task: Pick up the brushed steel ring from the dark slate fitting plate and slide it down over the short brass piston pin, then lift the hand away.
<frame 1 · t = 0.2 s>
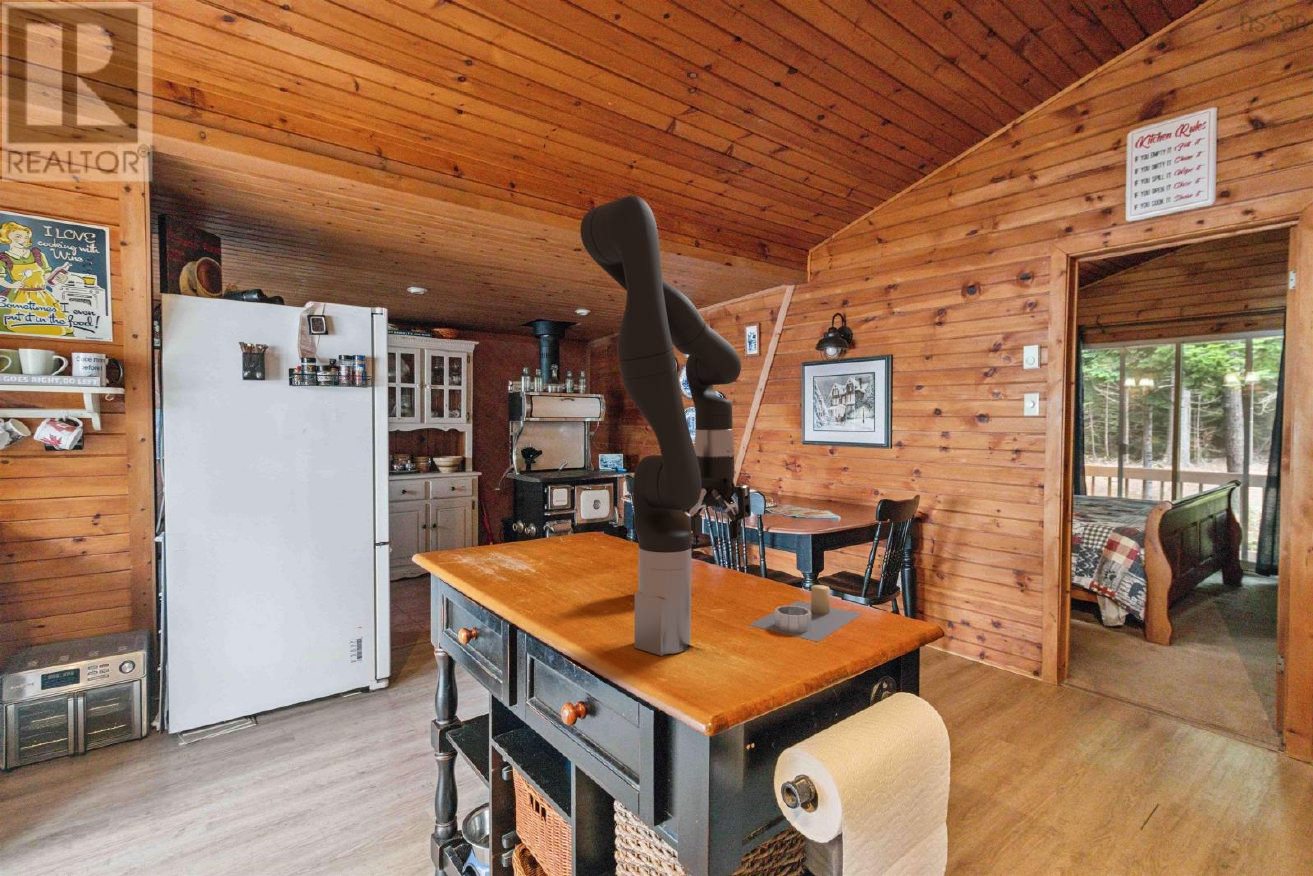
hand: (715, 537, 116), 17 cm above the table, fingers open, 8 cm apart
olive oil: (667, 594, 139), on the table
fitting plate: (806, 624, 118), on the table
steel ring: (792, 626, 113), point 1 cm above the table, touching fitting plate
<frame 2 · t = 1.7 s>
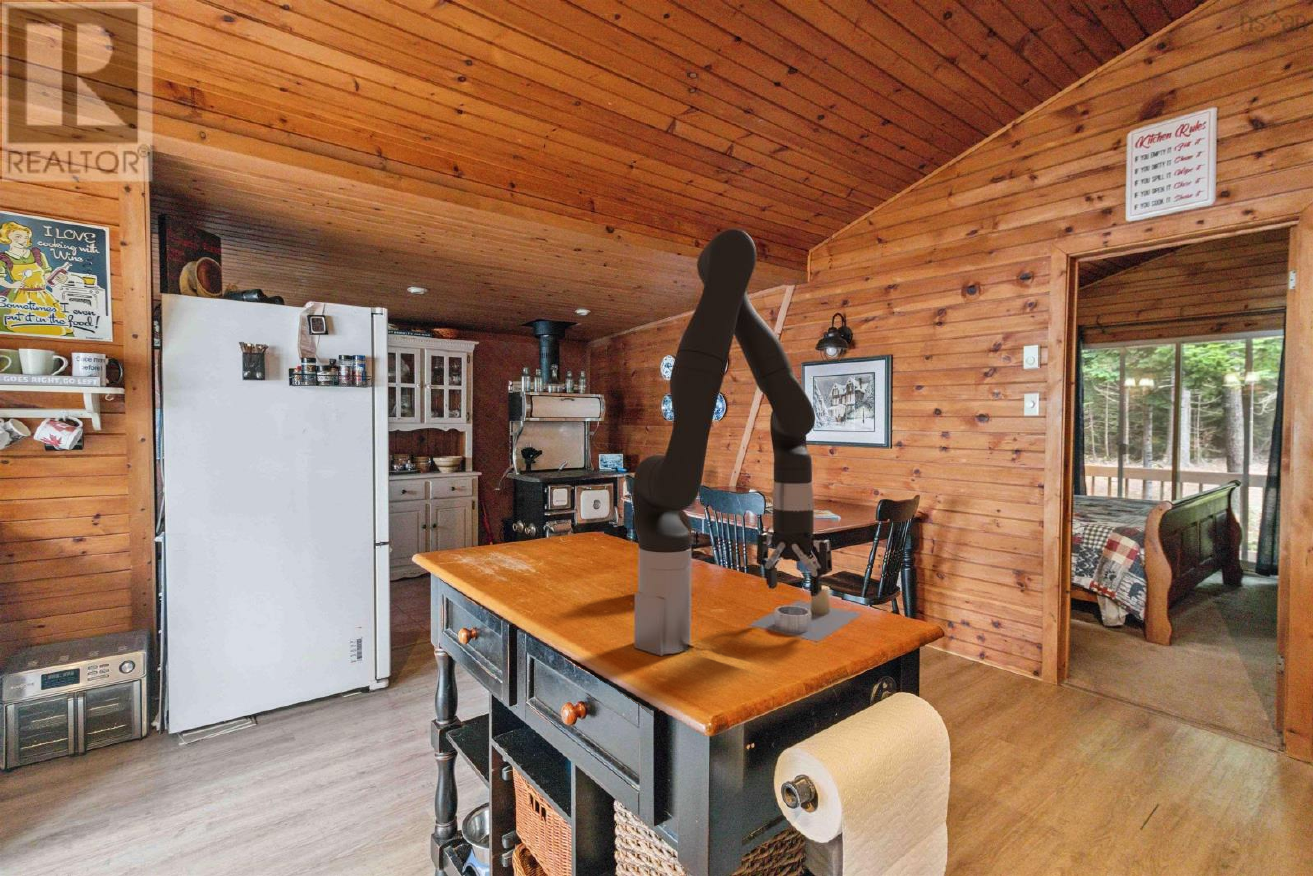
hand: (793, 591, 114), 7 cm above the table, fingers open, 8 cm apart
nothing on the table moved.
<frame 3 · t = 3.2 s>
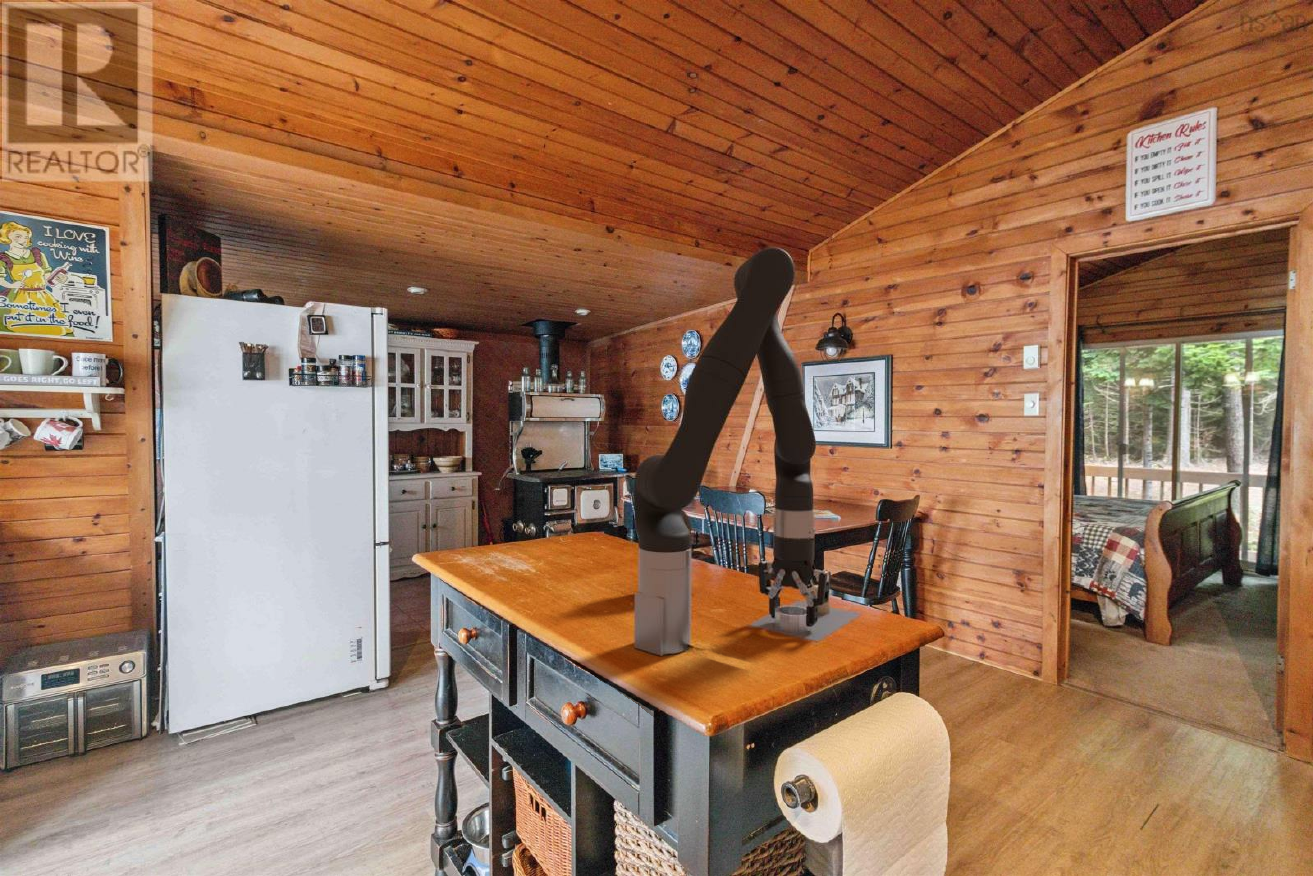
hand: (792, 621, 113), 2 cm above the table, fingers closed on steel ring, 6 cm apart
steel ring: (792, 626, 113), point 1 cm above the table, touching fitting plate, gripper
everything else where it was.
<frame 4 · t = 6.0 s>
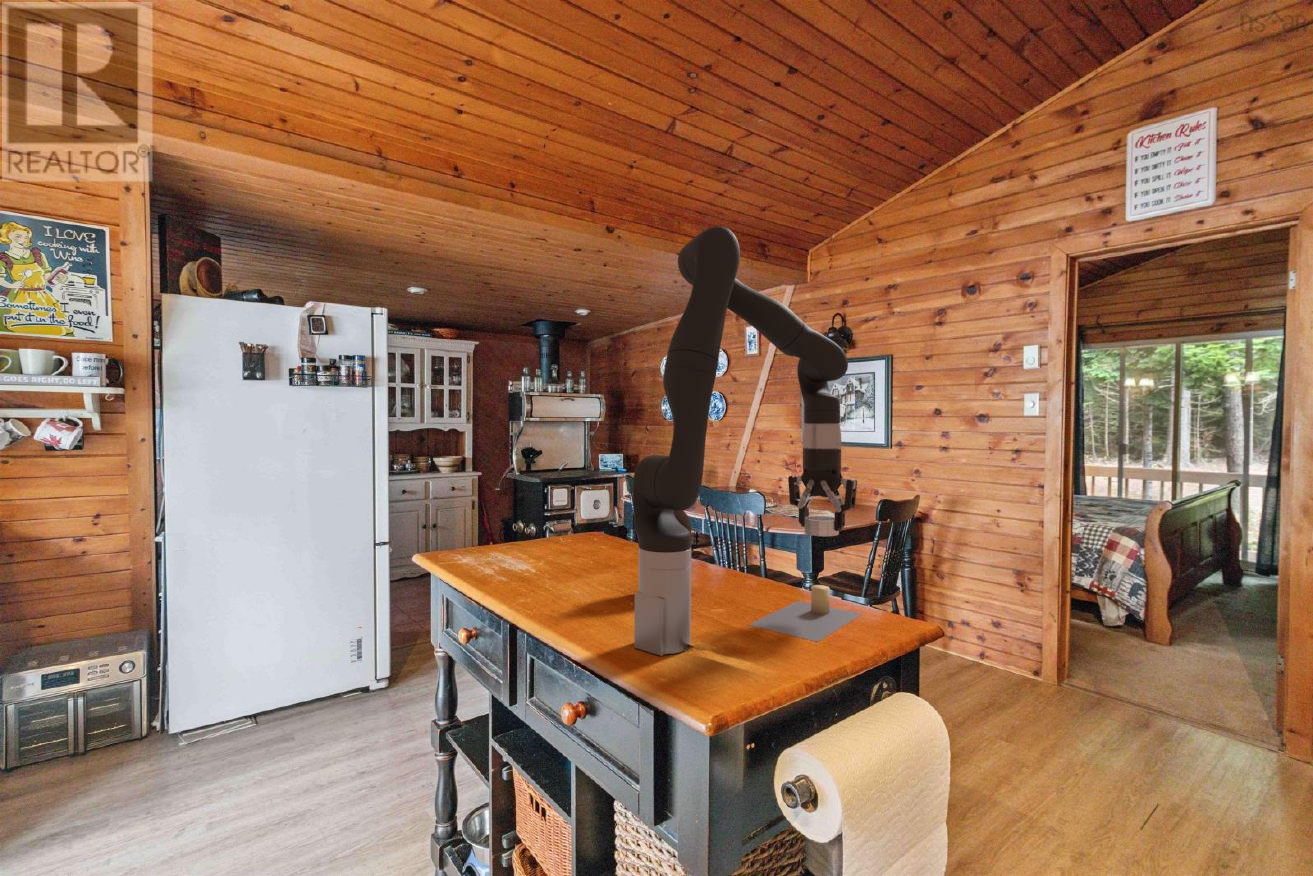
hand: (821, 528, 122), 18 cm above the table, fingers closed on steel ring, 6 cm apart
steel ring: (821, 533, 122), point 17 cm above the table, touching gripper
everything else where it was.
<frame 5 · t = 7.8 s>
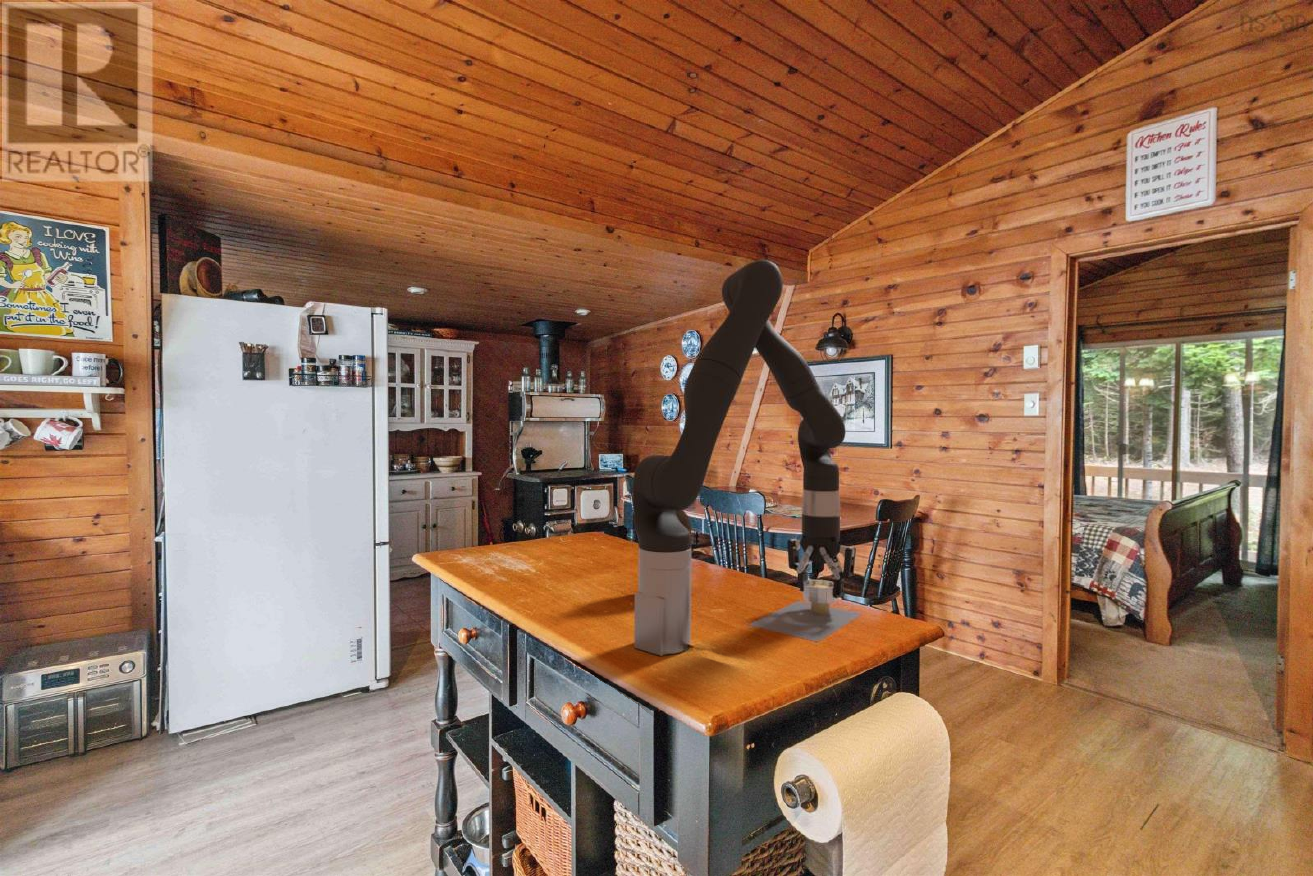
hand: (820, 593, 123), 5 cm above the table, fingers closed on steel ring, 6 cm apart
steel ring: (820, 598, 123), point 4 cm above the table, touching gripper
everything else where it was.
when the fingers open (3 cm above the table, at t = 9.1 s): steel ring drops 1 cm, resting on fitting plate.
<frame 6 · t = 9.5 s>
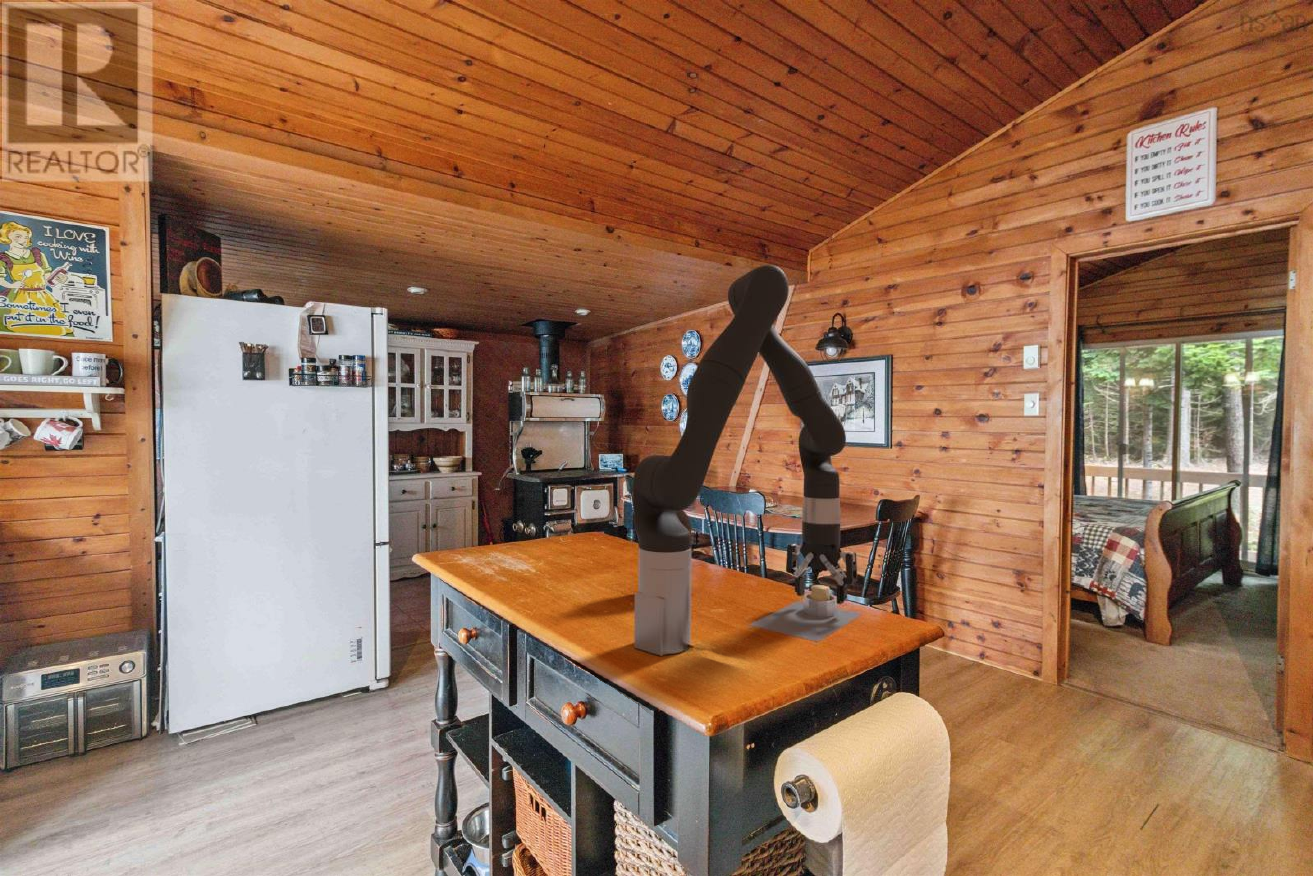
hand: (820, 599, 122), 4 cm above the table, fingers open, 8 cm apart
steel ring: (820, 611, 123), point 1 cm above the table, touching fitting plate
everything else where it was.
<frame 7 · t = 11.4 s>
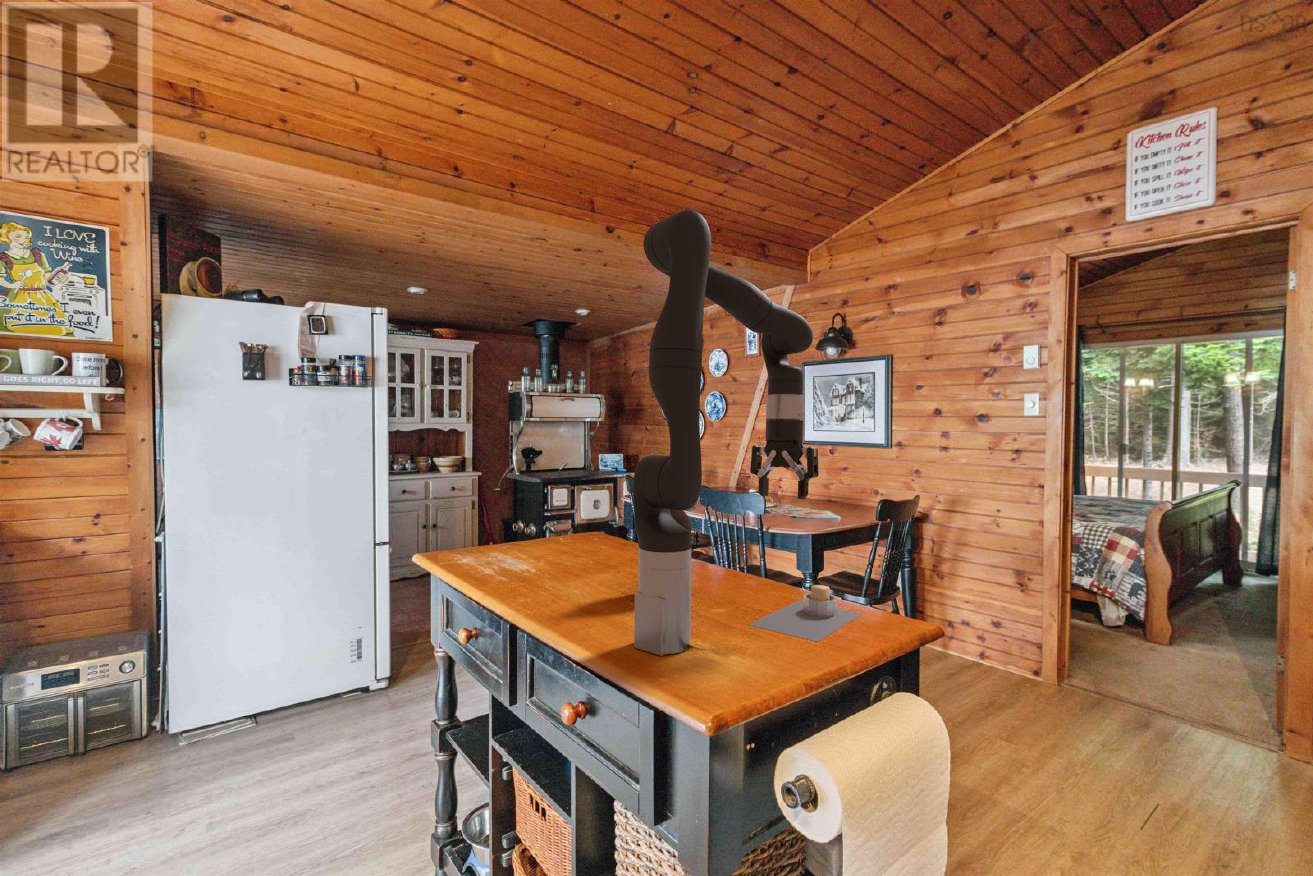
hand: (782, 497, 123), 24 cm above the table, fingers open, 8 cm apart
nothing on the table moved.
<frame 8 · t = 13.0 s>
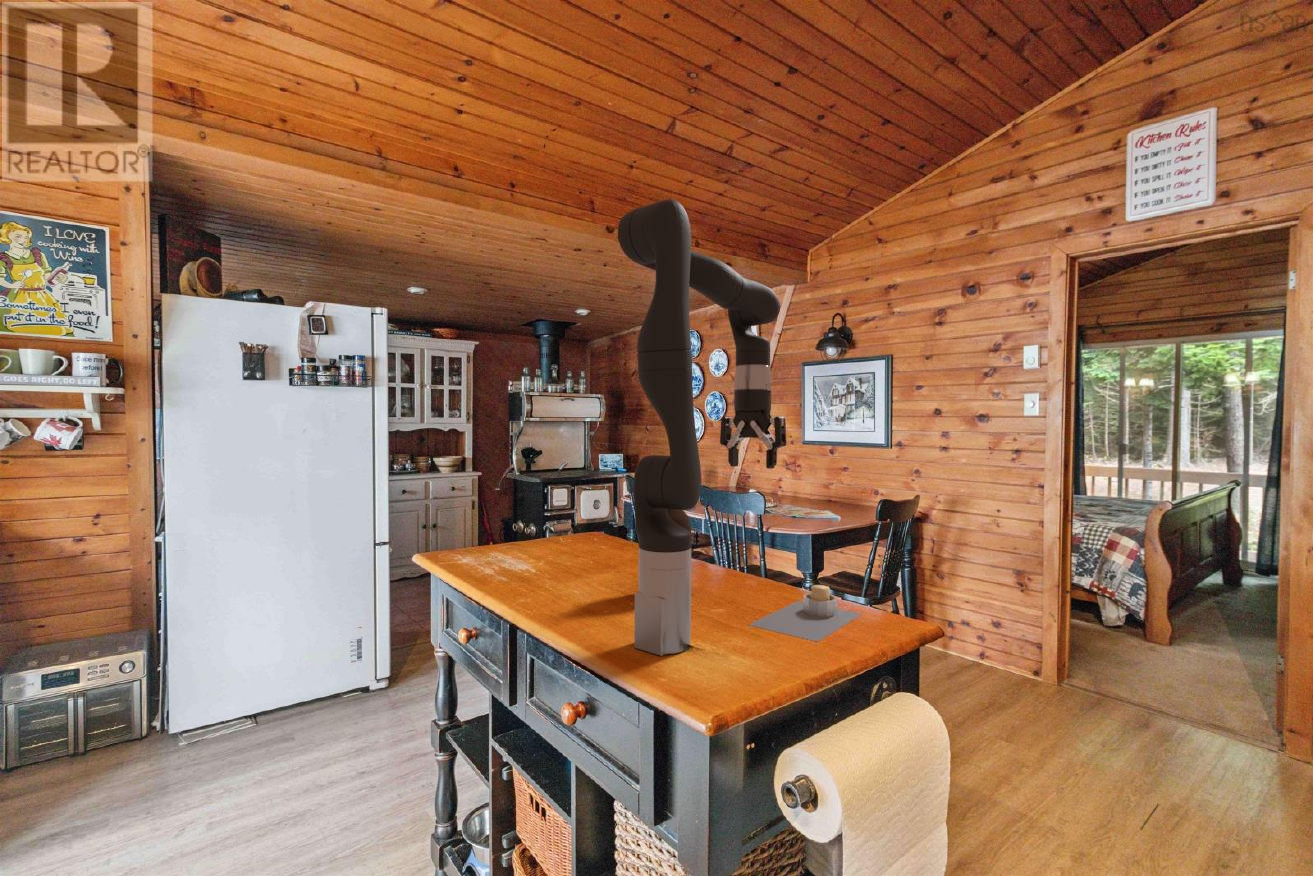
hand: (752, 467, 124), 30 cm above the table, fingers open, 8 cm apart
nothing on the table moved.
at the end: steel ring 0.0 cm from the target spot on the fitting plate, point 1.0 cm above the fitting plate's base; steel ring tilted 0°; the gripper is holding nothing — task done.
